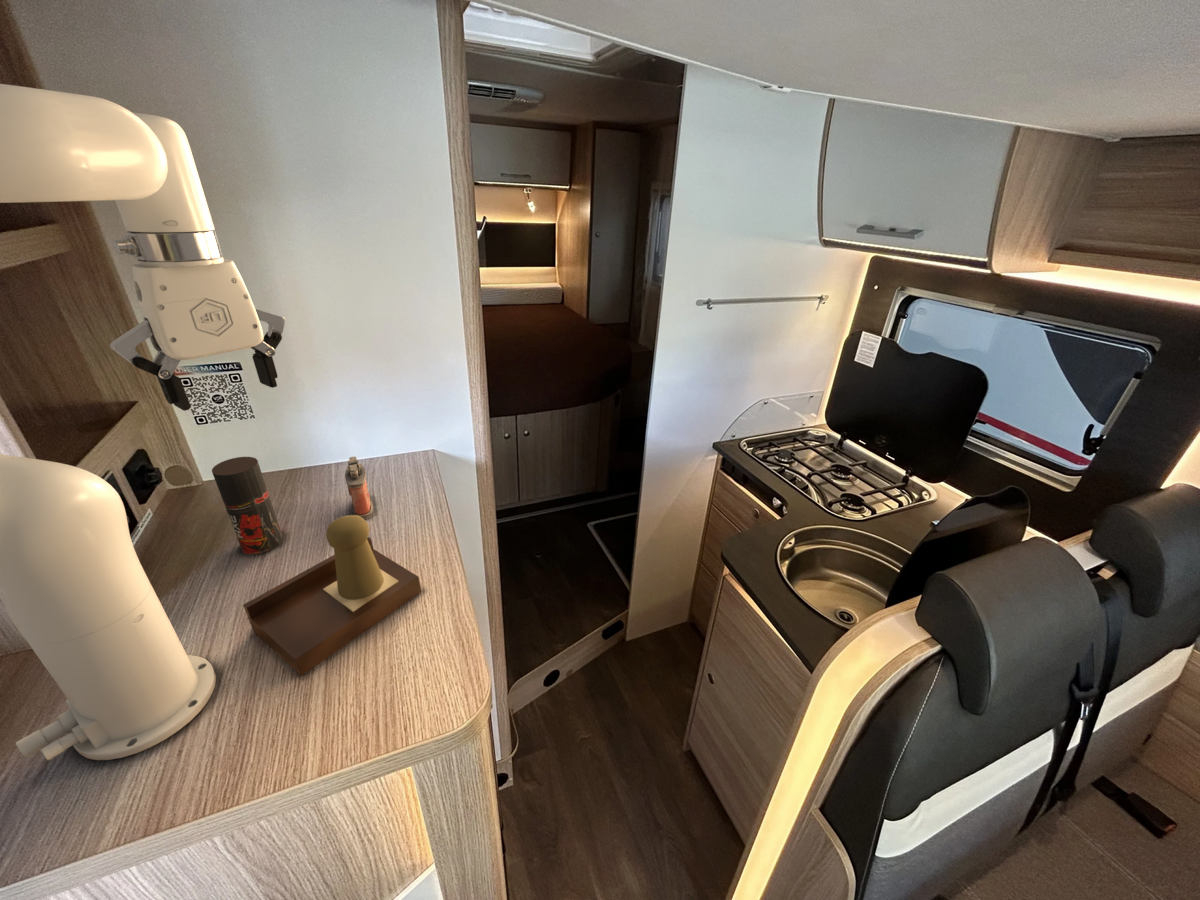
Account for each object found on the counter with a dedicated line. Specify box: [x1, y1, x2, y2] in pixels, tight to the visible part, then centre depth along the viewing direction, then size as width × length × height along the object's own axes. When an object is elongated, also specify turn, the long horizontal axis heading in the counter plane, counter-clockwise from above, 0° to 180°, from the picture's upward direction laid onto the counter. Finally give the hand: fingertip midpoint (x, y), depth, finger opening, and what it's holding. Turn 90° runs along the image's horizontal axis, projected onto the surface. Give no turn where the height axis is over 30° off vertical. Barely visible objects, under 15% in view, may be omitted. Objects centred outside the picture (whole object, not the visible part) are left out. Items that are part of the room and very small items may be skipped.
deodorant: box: [211, 456, 284, 555], centre depth 80 cm, size 6×6×15 cm
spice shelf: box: [242, 536, 422, 677], centre depth 70 cm, size 18×12×5 cm, turn 146°
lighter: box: [344, 456, 374, 520], centre depth 91 cm, size 8×3×10 cm, turn 25°
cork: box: [325, 514, 384, 600], centre depth 69 cm, size 6×6×11 cm
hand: (228, 395), depth 62 cm, fingers open, 9 cm apart
